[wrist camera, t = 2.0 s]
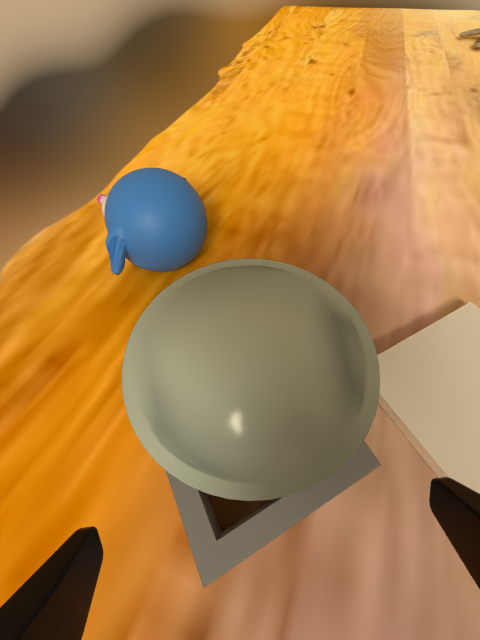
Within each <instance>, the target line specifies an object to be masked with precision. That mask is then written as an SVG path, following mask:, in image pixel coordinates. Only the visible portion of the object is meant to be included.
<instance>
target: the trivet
mask: <svg viewBox="0 0 480 640" xmlns="http://www.w3.org/2000/svg"><path fill="white" fill-rule="evenodd" d="M377 357H378V361H379V369H380V391H379V400H378V403H379V404H380V406H381V407H382V408H383V409H384V411H385V412H386V413H387V414H388V416H389V417H390V418H391V419H392V421H393V422H394V423H395V424H396V426H397V427H398V428H399V429H400V431H401V432H402V433H403V434H404V436H405V437H406V438H407V439H408V441H409V442H410V443H411V444H412V445H413V447H414V448H415V449H416V450H417V452H418V453H419V454H420V455H421V457H422V458H423V459H424V460H425V462H426V463H427V464H428V465H429V467H430V468H431V469H432V470H433V472H434V473H435V474H436V475H437V477H438V478H440V477H449V478H452V479H454V480H455V481H457V482H459V483H461V484H463V485H465V486H467V487H468V488H470V489H472V490H474V491H476V492H478V493H479V494H480V308H478V307H477V306H476V305H475V304H473V303H472V302H469V303H467V304H466V305H464V306H462V307H460V308H459V309H457V310H455V311H453V312H452V313H450V314H448V315H446V316H445V317H443V318H441V319H440V320H438V321H436V322H434V323H433V324H431V325H429V326H427V327H426V328H424V329H422V330H420V331H419V332H417V333H415V334H413V335H412V336H410V337H408V338H406V339H405V340H403V341H401V342H399V343H398V344H396V345H394V346H392V347H391V348H389V349H387V350H385V351H384V352H382V353H380V354H378V355H377Z"/></svg>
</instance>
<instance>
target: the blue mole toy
mask: <svg viewBox="0 0 480 640" xmlns="http://www.w3.org/2000/svg"><path fill="white" fill-rule="evenodd" d="M97 200H98V202H99V203H100V204H102V212H103V215H104V217H105V223H106V227H107V231H108V236H107V239H106V247H107V250H108V253H109V256H110V260H111V270H112V272H113V274H116V275H119V274H120V273H121V272H122V271H123V268H124V265H125V257H126V258H127V259H128V260H129V261H130V262H131V263H133V264H134V265H136V266H138V267H140V268H143V269H147V270H150V271H156V272H168V271H173V270H176V269H179V268H181V267H183V266H185V265H187V264H188V263H189V262H191V261H192V260H193V259H194V258H195V257H196V256H197V254H198V253H199V251H200V250H201V248H202V246H203V243H204V241H205V237H206V232H207V216H206V211H205V208H204V205H203V203H202V201H201V199H200V197H199V195H198V194H197V192H196V191H195V189H194V188H193V187H192V186H191V185H190V184H189V183H188V182H187V180H186V179H185V178H183V177H180V176H179V175H177V174H175V173H173V172H171V171H168V170H165V169H160V168H143V169H138V170H135V171H132V172H130V173H128V174H126V175H125V176H123V177H122V178H120V179H119V180H118V181H117V182H116V183H115V185H114V186H113V187H112V189H111V190H110V192H109V194H108V196H105V195H103V194H101V195H99V196H98V198H97Z"/></svg>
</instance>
